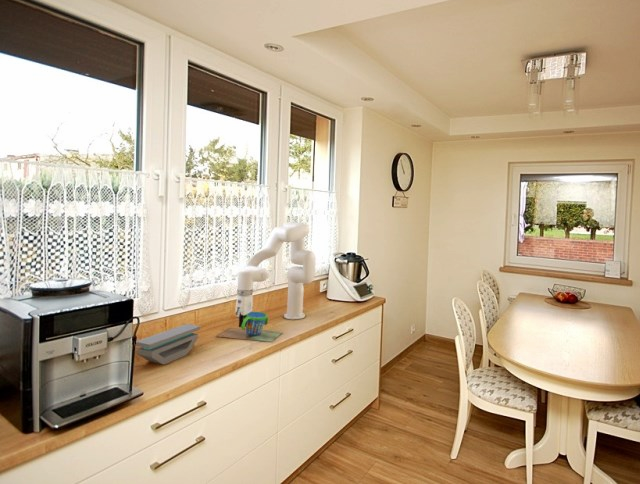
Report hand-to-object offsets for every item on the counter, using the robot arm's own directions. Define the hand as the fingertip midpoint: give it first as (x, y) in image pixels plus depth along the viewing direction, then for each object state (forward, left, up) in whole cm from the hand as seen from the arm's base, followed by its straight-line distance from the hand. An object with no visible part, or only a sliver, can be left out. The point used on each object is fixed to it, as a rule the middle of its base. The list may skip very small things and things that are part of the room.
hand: (242, 326), depth 189 cm
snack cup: (-1, +5, -4) cm, 7 cm away
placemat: (-1, +3, -4) cm, 6 cm away
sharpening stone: (+33, -16, -5) cm, 37 cm away
